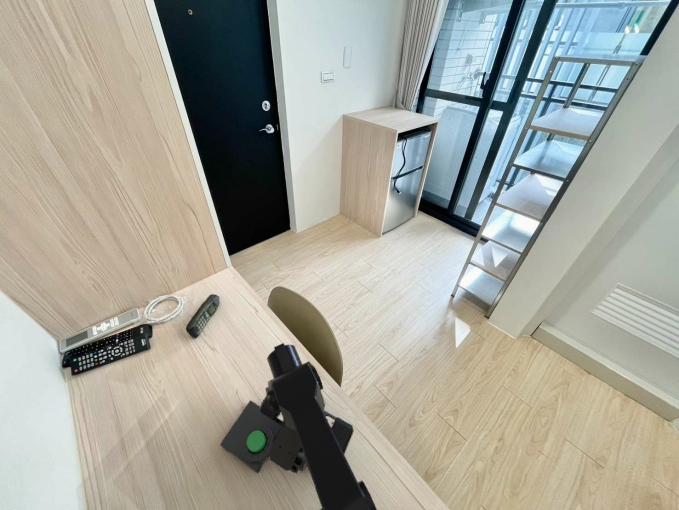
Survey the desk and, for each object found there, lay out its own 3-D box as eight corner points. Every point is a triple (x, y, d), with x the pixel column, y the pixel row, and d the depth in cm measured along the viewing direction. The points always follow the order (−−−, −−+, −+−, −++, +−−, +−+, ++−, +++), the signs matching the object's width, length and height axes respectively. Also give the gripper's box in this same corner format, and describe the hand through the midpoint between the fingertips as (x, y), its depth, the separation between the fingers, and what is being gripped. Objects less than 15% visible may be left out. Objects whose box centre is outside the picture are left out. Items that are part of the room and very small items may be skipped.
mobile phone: (191, 331, 75) (219, 289, 85) (182, 329, 75) (211, 287, 85) (198, 339, 78) (224, 298, 88) (189, 337, 79) (216, 296, 89)
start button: (258, 456, 56) (256, 454, 54) (245, 446, 57) (243, 445, 55) (269, 438, 58) (267, 436, 57) (256, 429, 59) (254, 427, 58)
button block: (261, 475, 56) (256, 472, 53) (222, 447, 60) (216, 443, 57) (288, 426, 63) (286, 421, 60) (252, 403, 66) (248, 397, 63)
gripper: (231, 427, 46) (251, 445, 57) (325, 492, 40) (328, 499, 51) (271, 369, 53) (282, 395, 64) (356, 417, 47) (353, 437, 58)
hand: (309, 429), depth 59 cm, fingers closed on program dial, 4 cm apart
